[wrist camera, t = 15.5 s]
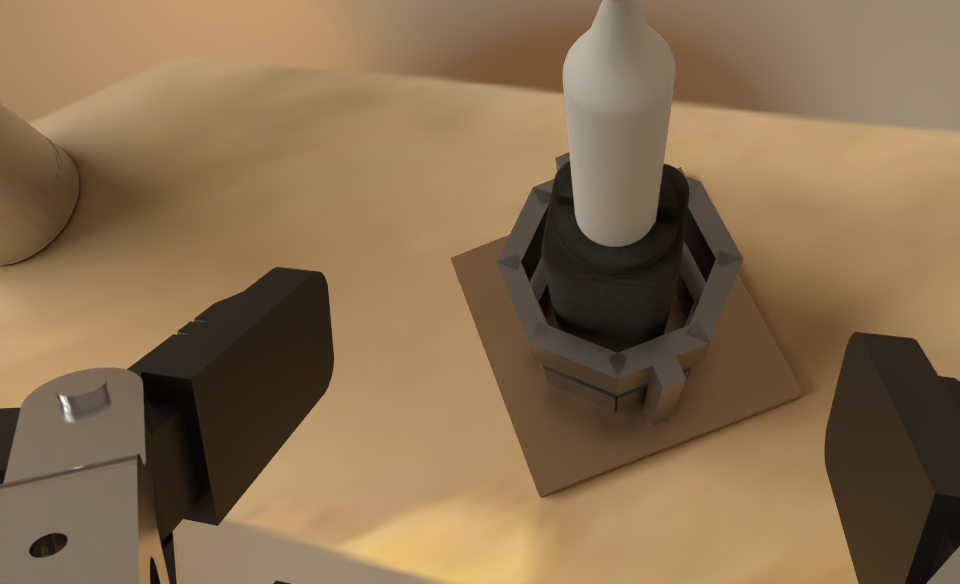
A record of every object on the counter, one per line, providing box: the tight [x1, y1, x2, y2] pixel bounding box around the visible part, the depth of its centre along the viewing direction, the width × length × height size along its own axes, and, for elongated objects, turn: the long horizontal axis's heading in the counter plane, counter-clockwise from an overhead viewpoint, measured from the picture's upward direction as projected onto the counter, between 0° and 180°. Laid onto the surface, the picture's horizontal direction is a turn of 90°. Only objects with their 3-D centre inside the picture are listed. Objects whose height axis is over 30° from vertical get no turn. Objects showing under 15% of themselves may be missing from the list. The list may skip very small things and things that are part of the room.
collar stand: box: [451, 153, 804, 497], centre depth 36 cm, size 14×14×9 cm
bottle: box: [541, 0, 689, 353], centre depth 28 cm, size 5×5×25 cm
